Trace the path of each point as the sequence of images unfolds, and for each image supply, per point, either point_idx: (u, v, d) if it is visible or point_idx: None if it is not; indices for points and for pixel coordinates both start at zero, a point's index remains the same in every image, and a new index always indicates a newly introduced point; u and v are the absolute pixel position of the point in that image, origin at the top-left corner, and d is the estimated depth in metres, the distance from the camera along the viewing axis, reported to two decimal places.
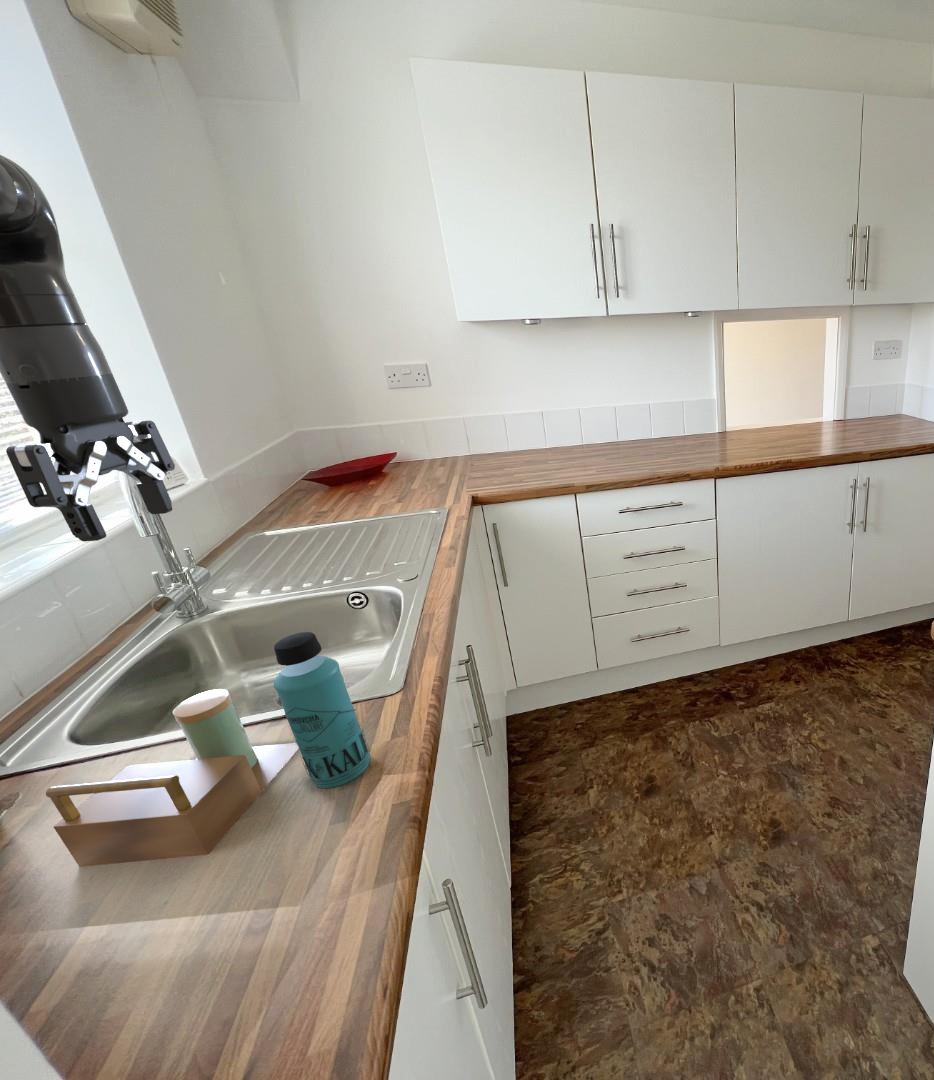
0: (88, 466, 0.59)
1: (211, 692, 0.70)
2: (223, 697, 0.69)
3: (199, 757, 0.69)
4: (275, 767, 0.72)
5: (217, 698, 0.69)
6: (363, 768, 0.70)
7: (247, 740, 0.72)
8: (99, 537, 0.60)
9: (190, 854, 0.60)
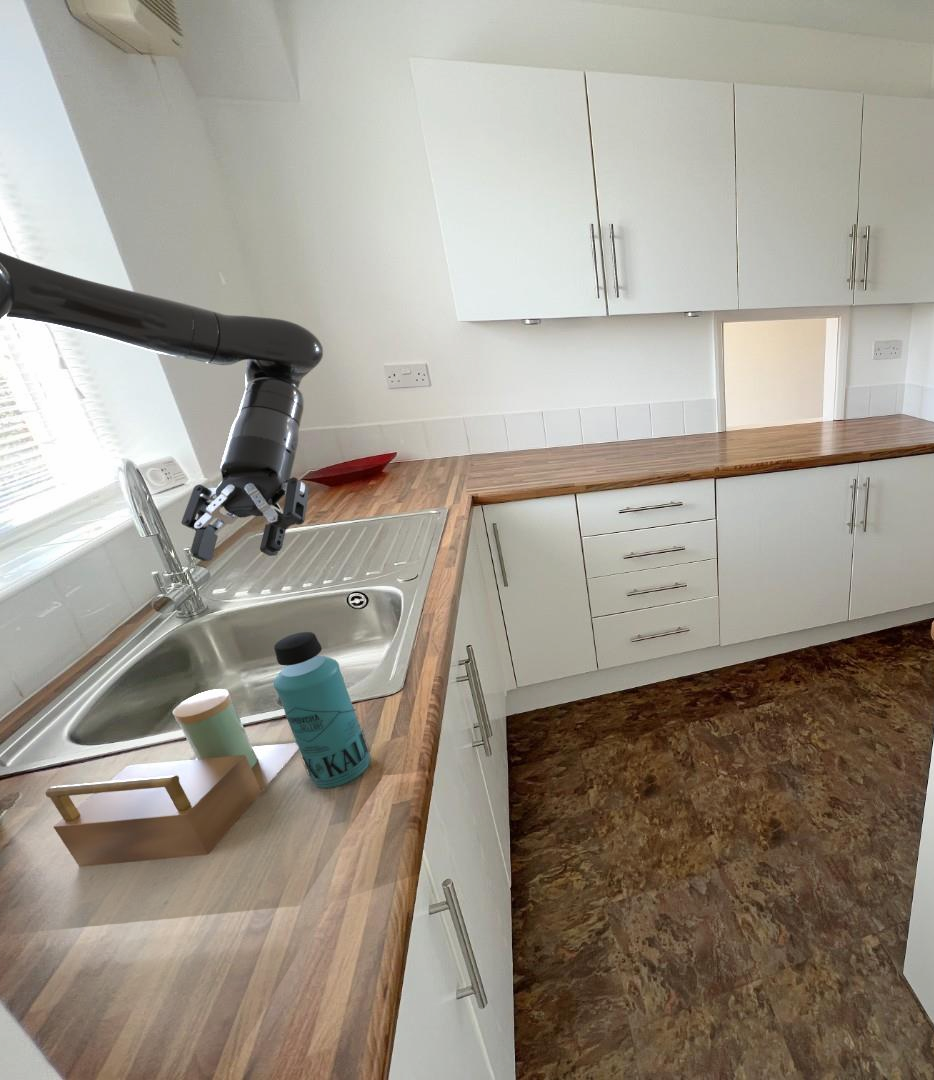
0: None
1: (211, 692, 0.70)
2: (223, 697, 0.69)
3: (199, 757, 0.69)
4: (275, 767, 0.72)
5: (217, 698, 0.69)
6: (363, 768, 0.70)
7: (247, 740, 0.72)
8: (276, 554, 0.76)
9: (190, 854, 0.60)
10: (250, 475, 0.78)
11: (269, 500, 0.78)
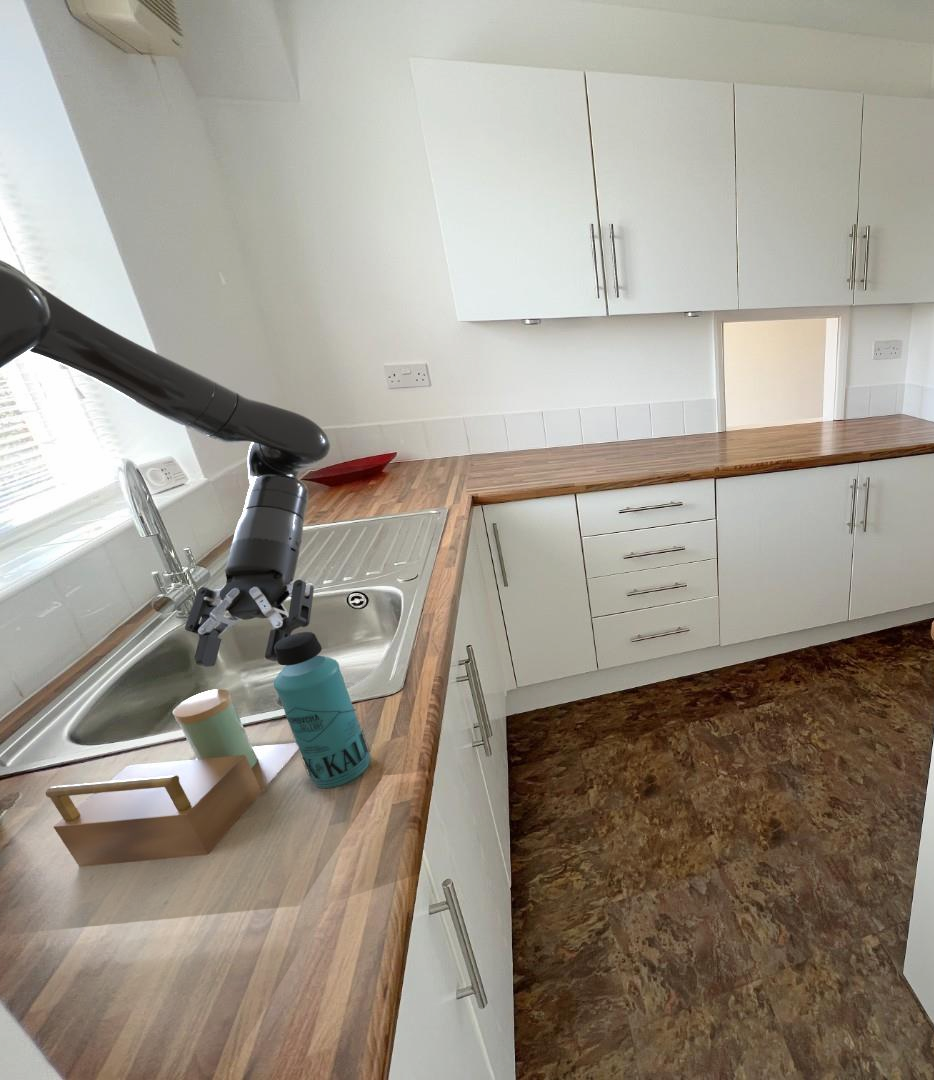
0: None
1: (211, 692, 0.70)
2: (223, 697, 0.69)
3: (199, 757, 0.69)
4: (275, 767, 0.72)
5: (217, 698, 0.69)
6: (363, 768, 0.70)
7: (247, 740, 0.72)
8: None
9: (190, 854, 0.60)
10: (254, 577, 0.78)
11: (274, 603, 0.78)
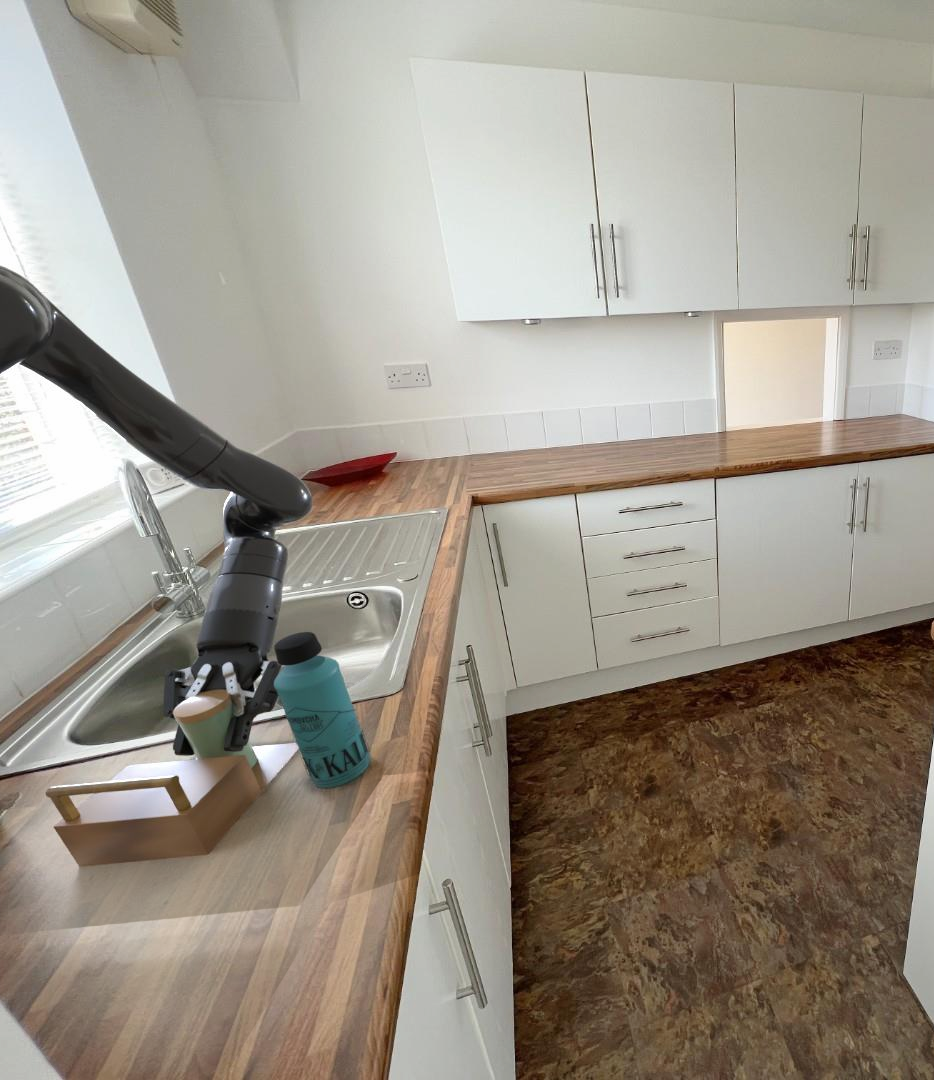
0: None
1: (211, 692, 0.70)
2: (223, 697, 0.69)
3: (199, 757, 0.69)
4: (275, 767, 0.72)
5: (217, 698, 0.69)
6: (363, 768, 0.70)
7: None
8: (242, 748, 0.70)
9: (190, 854, 0.60)
10: (228, 650, 0.73)
11: None
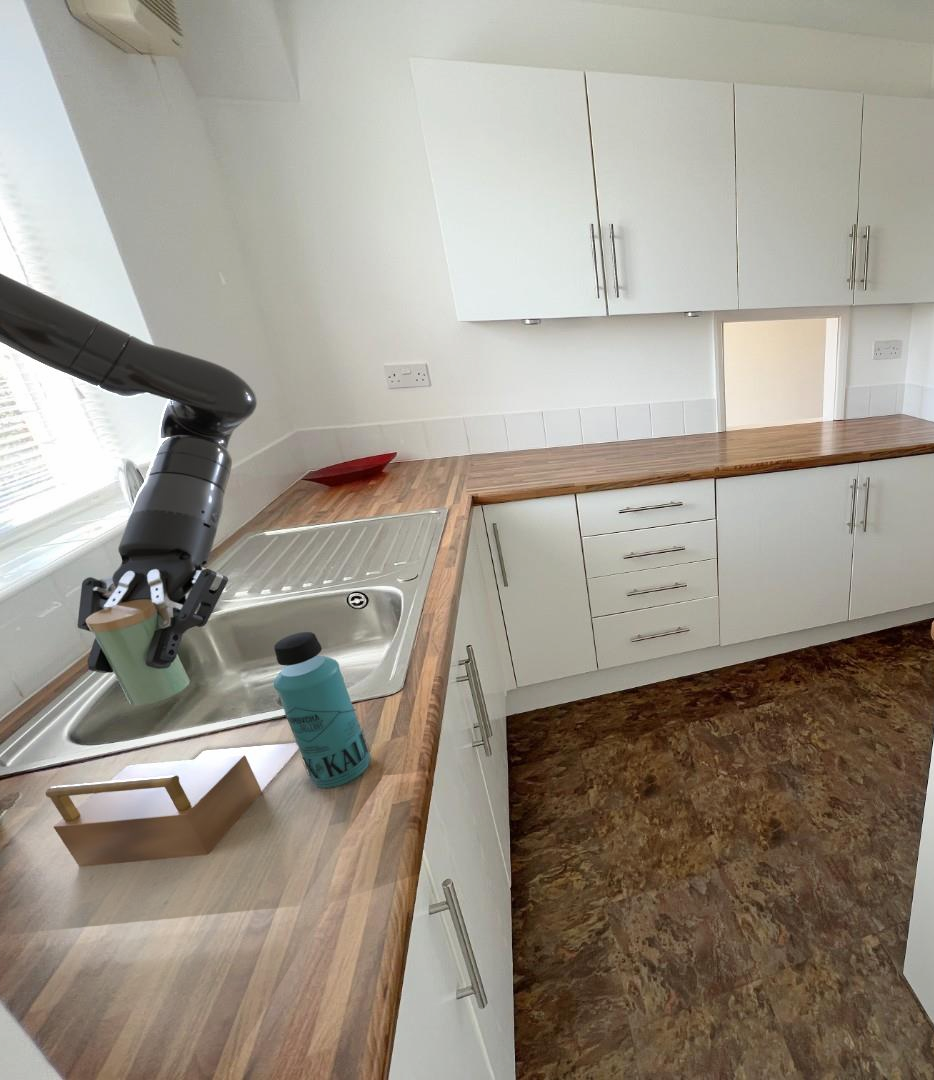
0: None
1: (133, 602, 0.62)
2: (146, 606, 0.61)
3: (118, 673, 0.60)
4: (275, 767, 0.72)
5: (139, 607, 0.61)
6: (363, 768, 0.70)
7: (176, 658, 0.64)
8: (169, 666, 0.62)
9: (190, 854, 0.60)
10: (156, 557, 0.64)
11: (173, 593, 0.64)
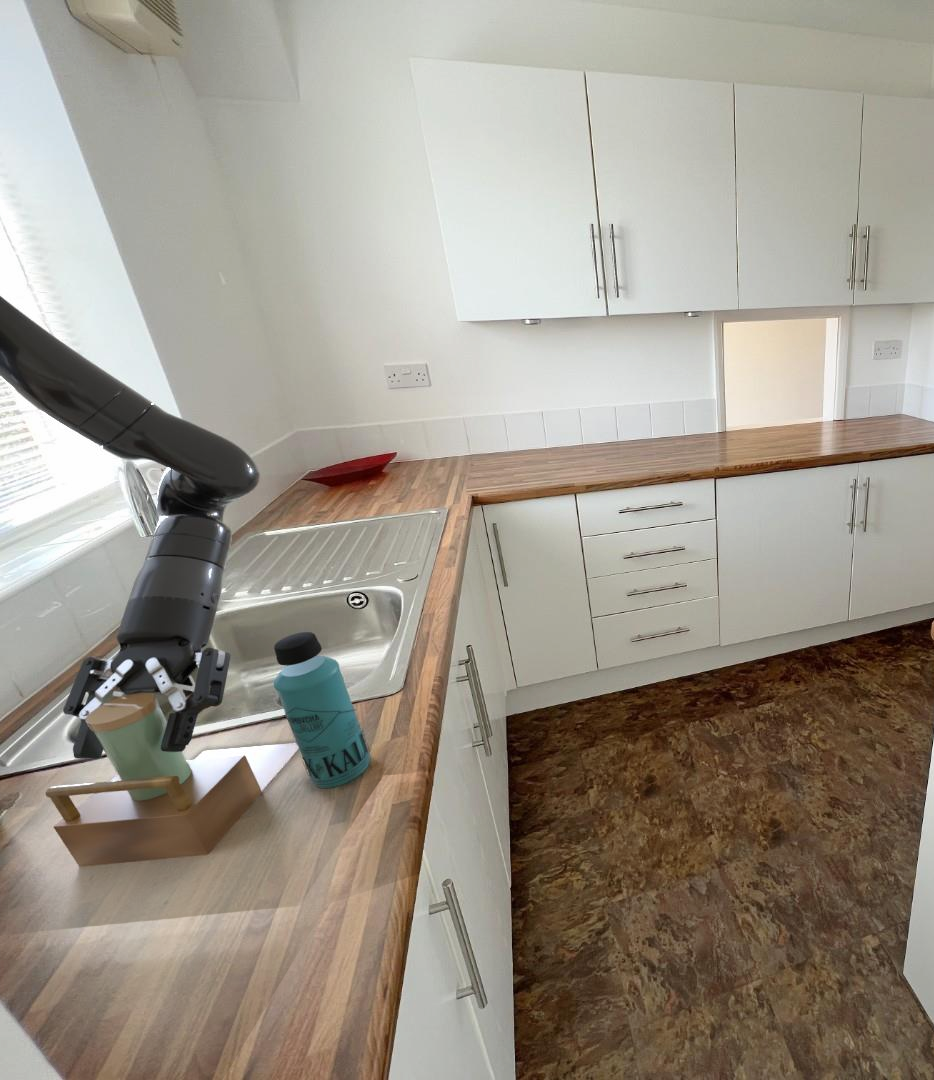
0: None
1: (134, 695, 0.61)
2: (147, 701, 0.60)
3: (118, 770, 0.59)
4: (275, 767, 0.72)
5: (140, 702, 0.60)
6: (363, 768, 0.70)
7: None
8: (184, 748, 0.61)
9: (190, 854, 0.60)
10: (154, 644, 0.63)
11: (178, 677, 0.63)
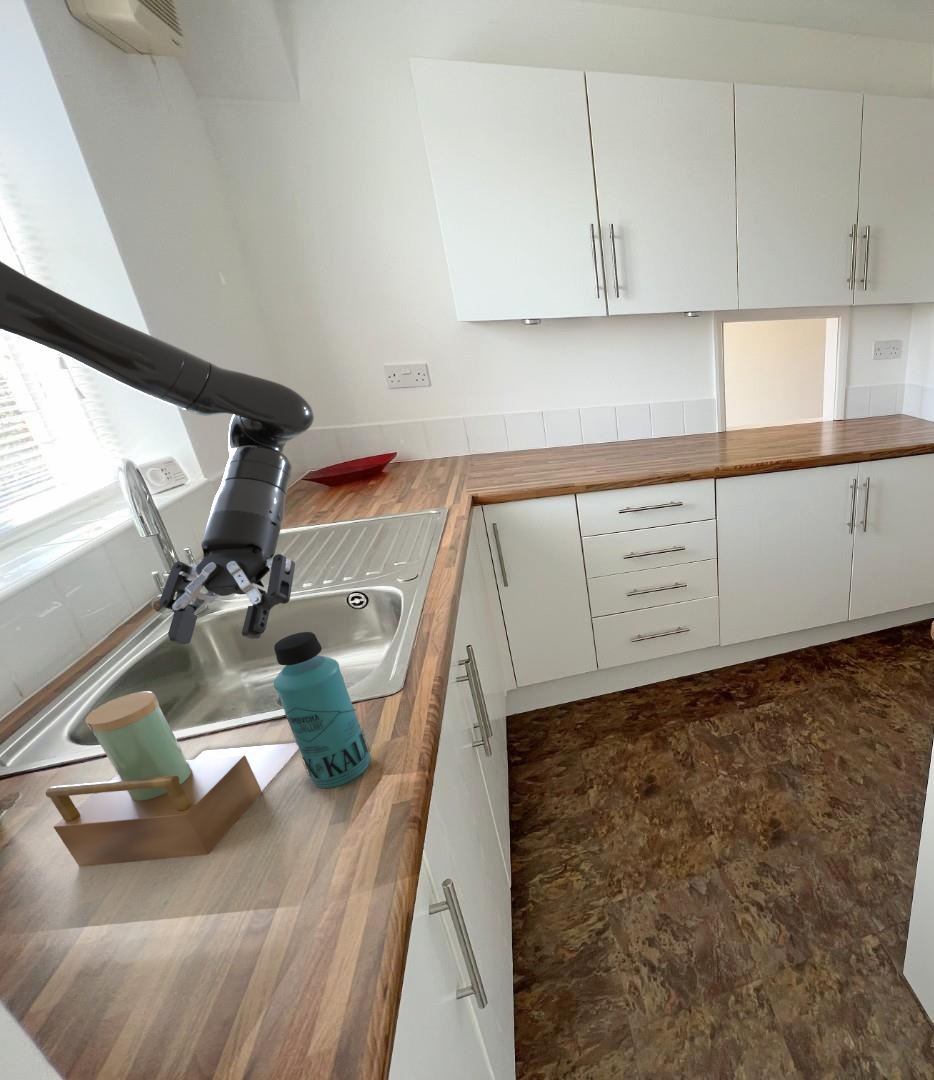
0: None
1: (134, 695, 0.61)
2: (147, 701, 0.60)
3: (118, 770, 0.59)
4: (275, 767, 0.72)
5: (140, 702, 0.60)
6: (363, 768, 0.70)
7: (178, 750, 0.63)
8: None
9: (190, 854, 0.60)
10: (232, 551, 0.75)
11: (252, 578, 0.74)
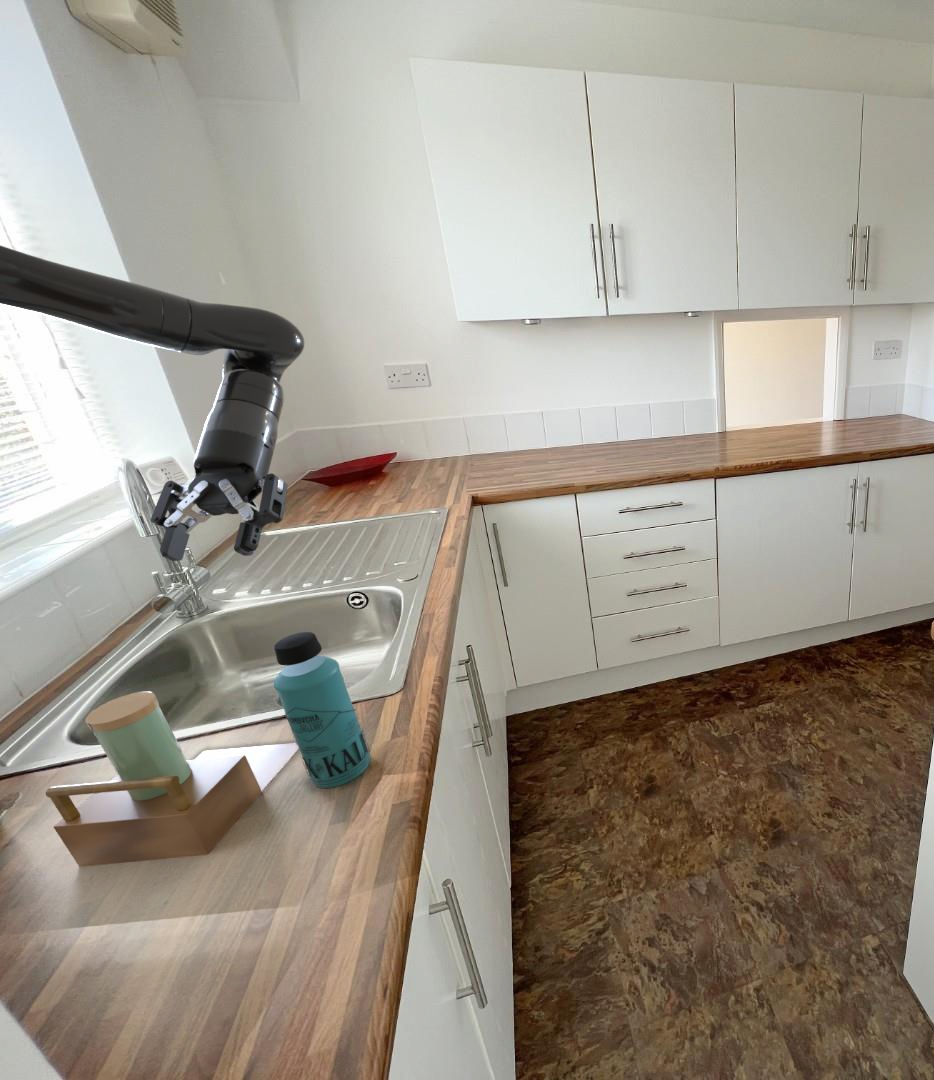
0: None
1: (134, 695, 0.61)
2: (147, 701, 0.60)
3: (118, 770, 0.59)
4: (275, 767, 0.72)
5: (140, 702, 0.60)
6: (363, 768, 0.70)
7: (178, 750, 0.63)
8: None
9: (190, 854, 0.60)
10: (224, 471, 0.74)
11: (245, 497, 0.74)
